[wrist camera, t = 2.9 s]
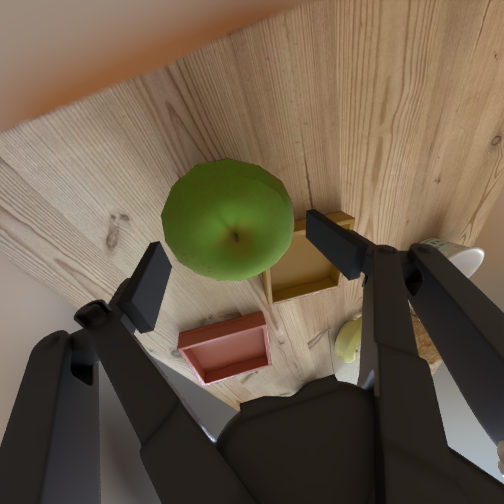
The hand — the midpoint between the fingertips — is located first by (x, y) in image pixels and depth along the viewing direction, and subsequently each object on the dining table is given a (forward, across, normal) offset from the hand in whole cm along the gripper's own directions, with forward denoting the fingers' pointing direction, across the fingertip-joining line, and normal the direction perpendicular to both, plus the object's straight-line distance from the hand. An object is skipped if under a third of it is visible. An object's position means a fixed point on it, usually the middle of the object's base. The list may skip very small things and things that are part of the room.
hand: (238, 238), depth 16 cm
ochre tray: (+10, +11, -12) cm, 19 cm away
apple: (+10, 0, 0) cm, 10 cm away
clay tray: (+10, -6, -33) cm, 35 cm away
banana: (+11, +28, -44) cm, 53 cm away
